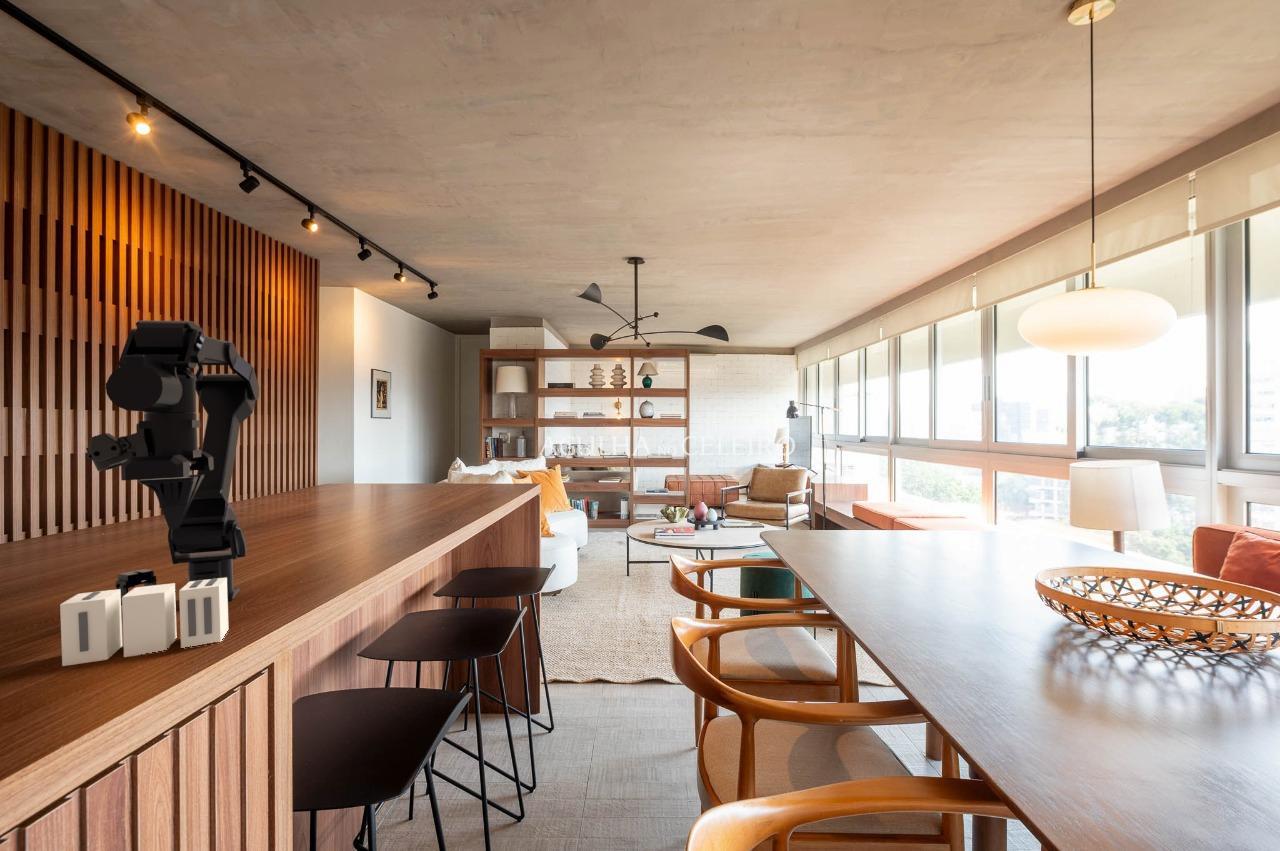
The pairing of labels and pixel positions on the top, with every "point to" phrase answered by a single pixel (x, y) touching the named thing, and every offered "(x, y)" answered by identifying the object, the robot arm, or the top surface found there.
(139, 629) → the plain block
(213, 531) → the robot arm
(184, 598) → the marked block two
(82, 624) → the marked block one
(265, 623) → the top surface
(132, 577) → the black angular block
